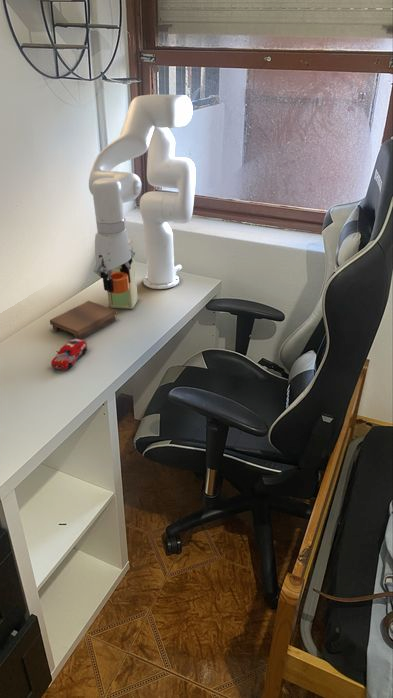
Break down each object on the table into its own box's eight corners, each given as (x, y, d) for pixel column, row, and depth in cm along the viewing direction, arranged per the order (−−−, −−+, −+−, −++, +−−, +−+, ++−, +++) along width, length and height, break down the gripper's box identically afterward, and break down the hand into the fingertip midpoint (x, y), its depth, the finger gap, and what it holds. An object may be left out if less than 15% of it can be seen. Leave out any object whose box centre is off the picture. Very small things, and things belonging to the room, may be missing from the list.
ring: (117, 282, 156) (115, 269, 154) (133, 287, 153) (132, 274, 151) (102, 290, 152) (100, 277, 150) (118, 295, 148) (117, 282, 146)
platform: (90, 310, 168) (88, 300, 166) (117, 320, 162) (116, 310, 160) (51, 330, 157) (49, 320, 155) (79, 341, 151) (77, 331, 149)
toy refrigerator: (107, 308, 169) (100, 246, 158) (114, 299, 175) (108, 238, 164) (131, 310, 167) (126, 247, 157) (138, 300, 174) (133, 239, 163)
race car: (66, 374, 137) (63, 361, 135) (48, 370, 138) (45, 357, 136) (91, 349, 147) (89, 336, 145) (74, 346, 149) (72, 333, 147)
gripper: (122, 215, 150) (127, 273, 160) (77, 232, 138) (86, 294, 148) (142, 219, 146) (146, 278, 156) (98, 238, 135) (106, 301, 144)
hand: (117, 285), depth 152 cm, fingers closed on ring, 6 cm apart
